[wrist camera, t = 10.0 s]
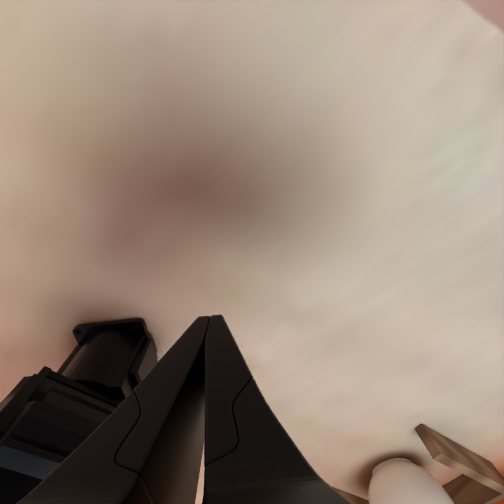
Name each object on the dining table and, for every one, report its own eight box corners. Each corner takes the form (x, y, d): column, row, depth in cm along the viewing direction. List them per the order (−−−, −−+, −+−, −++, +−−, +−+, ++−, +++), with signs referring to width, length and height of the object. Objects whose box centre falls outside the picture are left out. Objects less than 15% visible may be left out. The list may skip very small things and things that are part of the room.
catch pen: (325, 490, 39) (333, 521, 36) (421, 423, 34) (441, 453, 31) (397, 517, 44) (410, 547, 41) (491, 462, 39) (514, 492, 35)
